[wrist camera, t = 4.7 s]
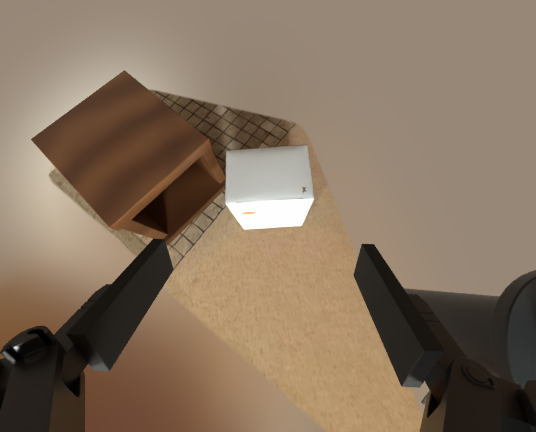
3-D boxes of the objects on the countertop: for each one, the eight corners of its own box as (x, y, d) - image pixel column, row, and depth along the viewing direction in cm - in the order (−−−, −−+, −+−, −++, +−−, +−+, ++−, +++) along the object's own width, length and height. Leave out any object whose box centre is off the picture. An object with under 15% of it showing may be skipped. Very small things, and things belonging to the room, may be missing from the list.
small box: (298, 188, 30) (310, 142, 19) (302, 227, 28) (317, 198, 18) (242, 192, 30) (224, 148, 20) (242, 230, 28) (224, 203, 18)
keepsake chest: (230, 183, 30) (208, 138, 20) (167, 245, 28) (109, 228, 18) (169, 131, 33) (124, 69, 23) (107, 182, 31) (30, 139, 21)
